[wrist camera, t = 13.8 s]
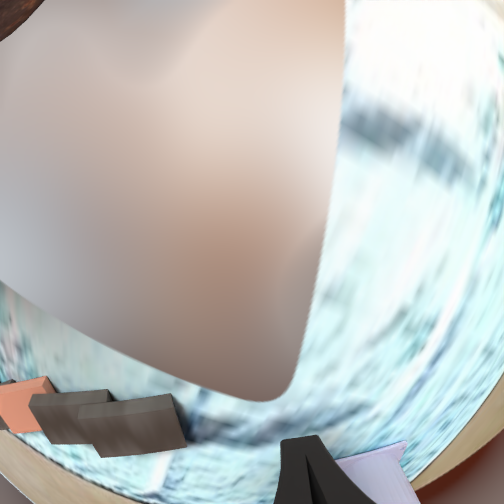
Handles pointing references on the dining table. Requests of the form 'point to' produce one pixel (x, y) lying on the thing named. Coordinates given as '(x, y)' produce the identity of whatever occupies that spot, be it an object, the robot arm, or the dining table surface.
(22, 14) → the jug
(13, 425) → the tile
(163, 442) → the tile
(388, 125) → the dining table surface
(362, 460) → the robot arm
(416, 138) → the dining table surface
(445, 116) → the dining table surface
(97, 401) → the tile
